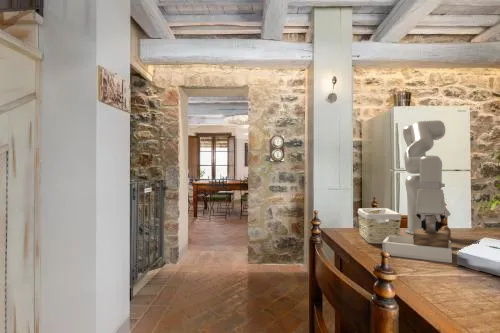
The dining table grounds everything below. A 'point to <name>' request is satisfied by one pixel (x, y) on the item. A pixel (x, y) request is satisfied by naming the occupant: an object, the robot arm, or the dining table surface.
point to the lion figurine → (446, 230)
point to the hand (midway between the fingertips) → (430, 230)
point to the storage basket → (378, 224)
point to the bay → (415, 249)
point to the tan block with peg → (431, 234)
